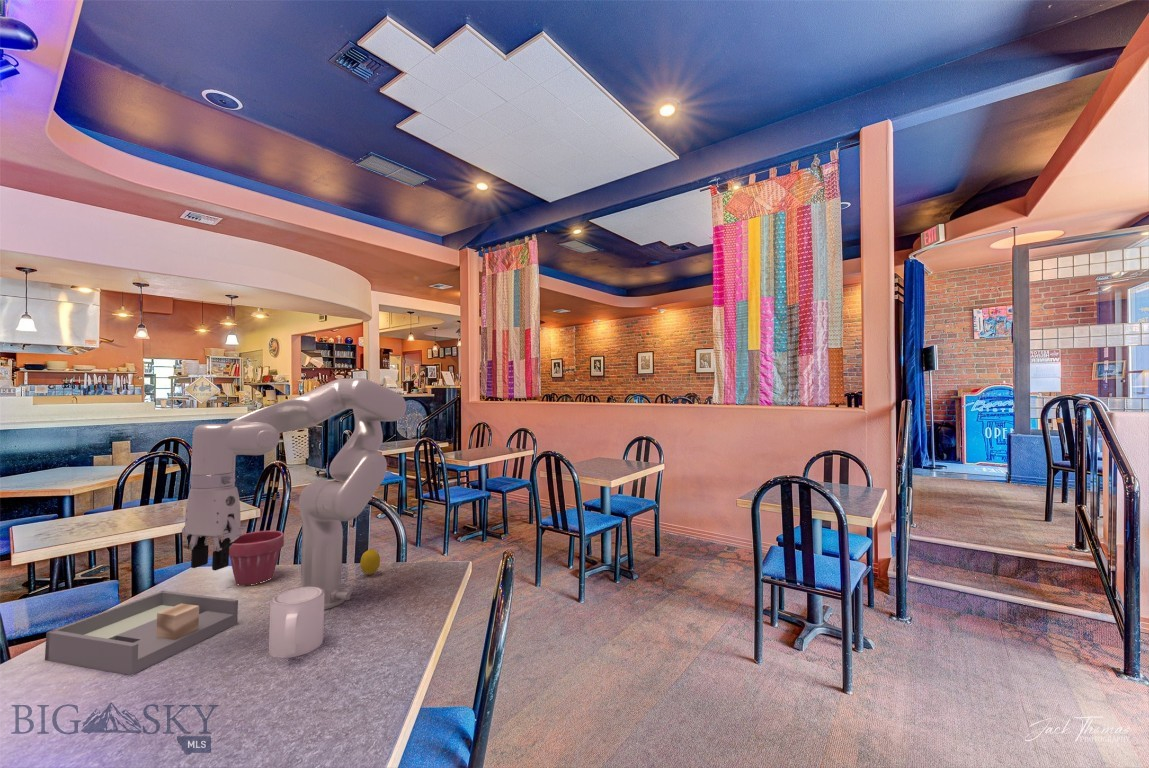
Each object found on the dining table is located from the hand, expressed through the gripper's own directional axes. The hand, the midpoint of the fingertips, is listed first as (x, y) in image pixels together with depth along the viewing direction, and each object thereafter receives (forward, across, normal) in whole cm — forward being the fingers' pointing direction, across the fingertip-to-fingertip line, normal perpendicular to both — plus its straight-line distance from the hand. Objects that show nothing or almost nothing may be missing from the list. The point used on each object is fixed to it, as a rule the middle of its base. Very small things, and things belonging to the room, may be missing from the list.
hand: (209, 566), depth 100 cm
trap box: (+17, +16, 0) cm, 23 cm away
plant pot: (+18, +24, -34) cm, 45 cm away
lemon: (+18, -6, -46) cm, 50 cm away
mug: (+18, -18, -5) cm, 25 cm away
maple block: (+15, +8, 0) cm, 17 cm away
